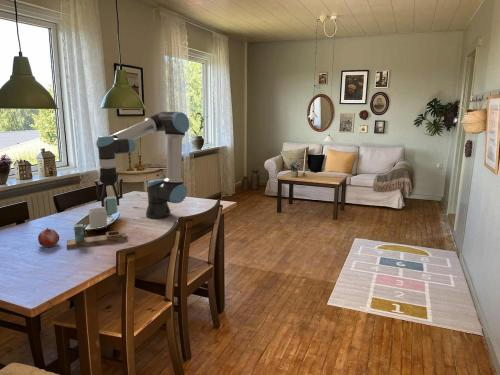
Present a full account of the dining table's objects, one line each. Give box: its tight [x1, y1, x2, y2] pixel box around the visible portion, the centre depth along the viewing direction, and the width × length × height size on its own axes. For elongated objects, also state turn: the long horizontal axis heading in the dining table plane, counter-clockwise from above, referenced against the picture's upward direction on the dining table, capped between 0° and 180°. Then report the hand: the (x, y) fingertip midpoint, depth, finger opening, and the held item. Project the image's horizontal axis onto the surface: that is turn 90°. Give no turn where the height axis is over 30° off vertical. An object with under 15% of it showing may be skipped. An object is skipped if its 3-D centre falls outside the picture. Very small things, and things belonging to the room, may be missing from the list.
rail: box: [66, 223, 128, 250], centre depth 187 cm, size 28×7×10 cm, turn 115°
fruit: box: [37, 227, 60, 248], centre depth 182 cm, size 9×10×10 cm
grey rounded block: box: [88, 207, 108, 229], centre depth 208 cm, size 12×9×11 cm
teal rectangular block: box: [104, 196, 117, 215], centre depth 187 cm, size 5×4×8 cm
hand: (111, 212), depth 188 cm, fingers closed on teal rectangular block, 5 cm apart
